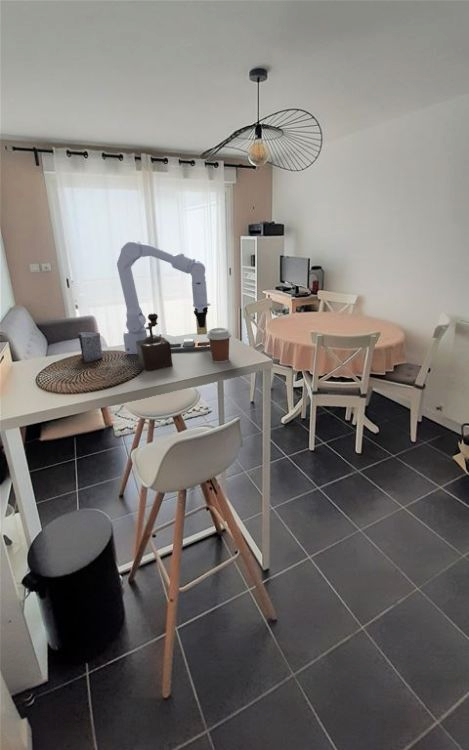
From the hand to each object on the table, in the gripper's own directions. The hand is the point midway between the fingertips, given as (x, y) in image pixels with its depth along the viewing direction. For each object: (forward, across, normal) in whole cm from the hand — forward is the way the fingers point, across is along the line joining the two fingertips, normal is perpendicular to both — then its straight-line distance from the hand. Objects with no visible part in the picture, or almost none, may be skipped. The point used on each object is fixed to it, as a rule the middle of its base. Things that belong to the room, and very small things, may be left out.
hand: (202, 325), depth 150 cm
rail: (+10, 0, +6) cm, 11 cm away
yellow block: (+3, 0, 0) cm, 3 cm away
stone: (+10, -6, +45) cm, 47 cm away
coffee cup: (+10, -16, -7) cm, 20 cm away
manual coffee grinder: (+10, -15, +19) cm, 26 cm away
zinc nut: (+10, 0, +6) cm, 12 cm away
